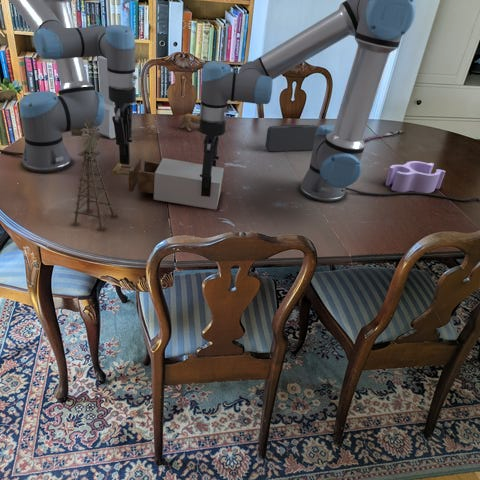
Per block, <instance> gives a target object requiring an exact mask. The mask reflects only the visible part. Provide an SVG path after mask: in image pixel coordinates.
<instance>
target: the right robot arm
mask: <svg viewBox="0 0 480 480" xmlns="http://www.w3.org/2000/svg"><path fill="white" fill-rule="evenodd" d="M415 16H416V4H415V1H414V0H344V1H343V2H341V3H340V4H339V7H338V9H337V10H334V11H333V12H332V13H330V14H329V15H327V16H325V17H324V18H322V19H320V20H318V21H317V22H315V23H314V24H312V25H311V26H309V27H306V29H303V30H302V31H300V32H299V33H297V34H295V35H293V36H292V37H291V38H289V39H287V40H286V41H284V42H282V43H280V44H279V45H277V46H276V47H274V48H271V50H269V51H267V52H265V53H264V54H262V55H260V56H259V57H258V58H255V59H253V60H249V61H246V62H245V63H243V64H242V65H241V66H240V68H239V70H238V72H233V71H232V70H231V65H230V64H229V63H227V62H222V61H213V60H212V61H207V62H205V64H204V65H203V66H202V76H201V91H200V92H201V93H200V107H199V113H200V117H201V119H200V124H199V126H198V129H199V133H201V134H203V135H205V137H204V139H203V160H202V165H203V168H202V175H201V174H200V177H202V188H201V196H207V197H210V192H211V178H212V176H211V172H212V166H214V167H217V161H218V160H219V158H220V156H219V155H218V146H219V140H220V136H223V135H224V134H225V133H226V123H227V122H226V119H227V114H228V113H229V112H230V110H229V108H228V102H229V101H231V102H240V103H247V104H248V103H249V104H255V105H268V104H269V103H270V102H271V100H272V93H273V86H274V85H273V82H274V81H273V80H275V79H277V78H278V77H280V76H281V75H283V74H285V73H286V72H289V71H290V70H292V69H294V68H295V67H297V66H299V65H300V64H302V63H304V62H306V61H308V60H309V59H311V58H313V57H314V56H316V55H318V54H320V53H321V52H323V51H325V50H327V49H328V48H330V47H332V46H333V45H335V44H337V43H339V42H341V41H343V40H345V38H348V37H349V36H352V37H354V40H355V42H356V44H357V49H356V52H355V55H354V57H353V58H354V59H353V61H352V65H351V69H350V72H349V76H348V78H347V82H346V86H345V89H344V92H343V97H342V99H341V103H340V107H339V110H338V113H337V116H336V119H335V123H334V124H321V125H318V126H319V127H318V128H317V130H316V134H315V140H314V145H313V150H311V156H310V162H309V167H308V170H307V172H306V173H305V175H304V177H303V179H302V180H301V182H300V186H299V190H300V192H301V194H302V195H304V196H306V197H307V198H309V199H312V200H314V201H318V202H324V203H333V202H338V201H341V200H342V199H344V197H345V195H346V191H349V192H353V193H356V194H361V195H368V196H378V197H379V196H395V195H421V196H430V197H436V198H443V199H448V200H453V201H457V202H469V201H473V200H477V202H480V198H479V197H477V196H476V197H475V196H473V197H469V198H457V197H452V196H447V195H442V194H435V193H421V192H415V191H407V192H397V191H394V192H388V193H385V192H384V193H379V192H378V193H377V192H367V191H360V190H357V189H355V188H350V187H349V186H351V185H353V184H354V183H356V182H357V180H359V178H360V176H361V174H362V162H361V159H362V157H363V154H364V150H365V147H366V144H365V142H363V140H364V139H363V136H364V134H365V131H366V127H367V124H368V121H369V118H370V117H371V112H372V109H373V107H374V103H375V100H376V97H377V94H378V91H379V88H380V85H381V82H382V79H383V76H384V73H385V69H386V67H387V64H388V61H389V58H390V55H391V53H393V52H395V51H396V50H397V49H399V46H400V44H401V41H402V39H403V36H404V35H405V34H406V33H407V32H408V31H409V30H410V28H411V27H412V25H413V24H414V23H413V22H414V20H415ZM478 198H479V199H478Z"/></svg>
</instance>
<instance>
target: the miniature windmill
mask: <svg viewBox="0 0 480 480" xmlns="http://www.w3.org/2000/svg"><path fill="white" fill-rule="evenodd" d="M89 118H90V117H89ZM92 120H93V116H92ZM94 121H95V118H94ZM96 122H97V120H96ZM87 123H88V119H87ZM93 125H94V122H93ZM95 125H96V123H95ZM95 125H94V127H92V126H91V122H90V127H89V129H88V127H87V125H86V123H85V126H86V128H87V129H85V128H83V129H81V130H80V129H77V128H73V127H71V131H70V132H71V136H72V137H81V136H82V137H83V138H82V140H81V141H82V146H83V147H84V150H83V151H81V152H80V153H78V154H77V155H78V156H80V157H83V161H82V162H81V164H82V168H81V171H80V173H81V175H80V178H79V187H78V193H77V195H76V196H77V201H76V202H75V205H76V207H75V208H76V209H75V210H74V212H73V213H74V221H73V224H74V225H77V224H78V217H79V215H83V216H89V217H94V218H98V224H99V229H100V230H103V229H104V228H103V222H102V221H103V220H102V217H103V216H104V215H105V214H106V213H107V212H108V211H110V214H111V216H112V217H115V212H114V210H113V203H111V201H110V197H109V193H108V192H107V191H108V188H106V185H105V182H104V179H103V174H102V173H101V169H100V166H99V164H98V163H99V160H97V157H98V156H100V155H101V154H102V153H103V152H102V151H100V150H95V149H97V147H96V146H98V142H97V141H99V140H100V138H99V137H98V136H100V133H98V130H99V128H98V129H97V126H98V125H99V123H98V124H97V126H96V127H95ZM88 126H89V123H88ZM94 167H96V170H97V173H95V172H94ZM85 170H87V172H86V174H85ZM90 171H91V172H90ZM90 175H91V179H92V180H90ZM95 176H98V177H97V178H95ZM99 180H100V182H101V186H102V187H100V186H97V184H96V183H97V182H98V181H99ZM90 183H92V185H90ZM85 185H86V187H85V188H84V189H83V187H84V186H85ZM91 188H93V192H94V196H91V194H90V192H91V191H90V189H91ZM97 189H98V190H103V191H102V192H101V193H100V194H99V195H98V191H97ZM85 191H86V193H85ZM83 193H85V194H83ZM103 195H105V198H106V201H107V202H102V201H99V198H100V197H102V196H103ZM85 198H86V200H85V201H84V202H83V203H82V204H81V201H83V200H84V199H85ZM91 199H94V200H91ZM90 203H94V204H96V205H95V206H96V211H97V214H92V213H91V214H90V213H85V212H82V211H81V212H80V209H81V208H83V207H84V205H86V207H87V208H86V210H87V212H90V209H91V208H90V206H91V205H90ZM80 204H81V205H80ZM100 205H105V206H108V207H107V208H106V209H105V210H104V211H103V212H102V213H101V210H100Z"/></svg>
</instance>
